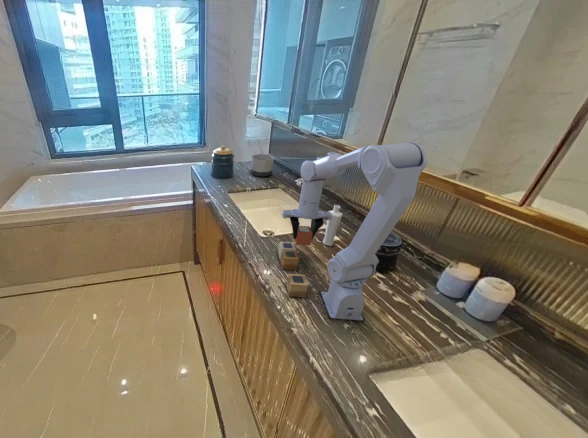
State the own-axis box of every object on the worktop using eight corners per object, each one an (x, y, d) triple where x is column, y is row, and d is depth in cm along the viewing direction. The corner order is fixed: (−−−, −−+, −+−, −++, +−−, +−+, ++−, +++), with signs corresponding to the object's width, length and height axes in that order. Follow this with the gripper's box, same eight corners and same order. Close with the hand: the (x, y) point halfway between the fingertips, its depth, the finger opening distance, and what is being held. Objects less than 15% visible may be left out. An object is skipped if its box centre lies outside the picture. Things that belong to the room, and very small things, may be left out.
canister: (209, 172, 174) (209, 143, 165) (229, 170, 176) (231, 142, 167) (214, 179, 162) (214, 149, 154) (236, 178, 164) (237, 147, 156)
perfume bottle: (336, 247, 102) (346, 209, 94) (323, 245, 102) (332, 208, 95) (333, 240, 105) (343, 203, 98) (321, 239, 106) (329, 203, 99)
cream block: (293, 260, 95) (295, 249, 92) (279, 260, 95) (281, 248, 93) (291, 253, 99) (293, 242, 96) (278, 252, 99) (279, 241, 97)
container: (388, 253, 98) (398, 228, 93) (399, 277, 87) (410, 250, 82) (348, 247, 101) (355, 223, 96) (353, 269, 90) (362, 243, 86)
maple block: (305, 297, 80) (308, 285, 78) (288, 296, 80) (291, 283, 78) (301, 286, 84) (304, 274, 82) (286, 285, 84) (288, 273, 82)
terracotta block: (310, 245, 90) (313, 233, 88) (295, 244, 91) (298, 232, 89) (307, 237, 94) (309, 225, 92) (293, 237, 95) (295, 225, 93)
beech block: (296, 270, 90) (299, 258, 88) (282, 269, 91) (284, 258, 89) (294, 261, 94) (296, 250, 92) (280, 261, 95) (282, 249, 92)
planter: (246, 172, 173) (247, 155, 168) (265, 169, 176) (266, 153, 171) (256, 179, 162) (258, 161, 157) (276, 176, 166) (278, 159, 161)
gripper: (330, 195, 88) (322, 232, 95) (283, 193, 90) (277, 230, 96) (338, 204, 82) (328, 243, 88) (286, 202, 84) (281, 241, 90)
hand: (302, 237), depth 92 cm, fingers closed on terracotta block, 4 cm apart
